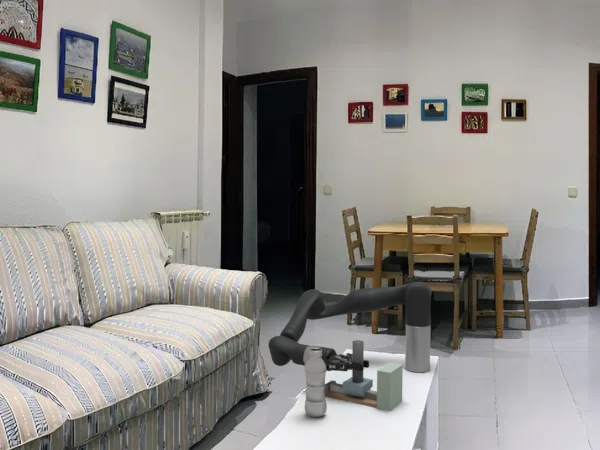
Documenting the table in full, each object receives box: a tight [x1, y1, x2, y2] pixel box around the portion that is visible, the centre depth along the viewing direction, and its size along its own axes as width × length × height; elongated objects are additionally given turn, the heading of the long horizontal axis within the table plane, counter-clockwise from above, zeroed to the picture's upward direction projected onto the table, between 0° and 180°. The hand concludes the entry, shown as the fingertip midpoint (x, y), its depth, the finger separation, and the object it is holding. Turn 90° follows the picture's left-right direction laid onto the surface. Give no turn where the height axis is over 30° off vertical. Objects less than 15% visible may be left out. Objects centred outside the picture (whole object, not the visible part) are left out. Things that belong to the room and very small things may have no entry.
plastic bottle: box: [304, 348, 328, 418], centre depth 167 cm, size 6×7×20 cm
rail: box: [324, 380, 377, 409], centre depth 183 cm, size 9×20×3 cm, turn 58°
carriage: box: [342, 339, 374, 397], centre depth 182 cm, size 8×7×17 cm
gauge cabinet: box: [376, 361, 404, 412], centre depth 176 cm, size 10×5×12 cm, turn 148°
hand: (365, 366), depth 180 cm, fingers closed on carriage, 3 cm apart
